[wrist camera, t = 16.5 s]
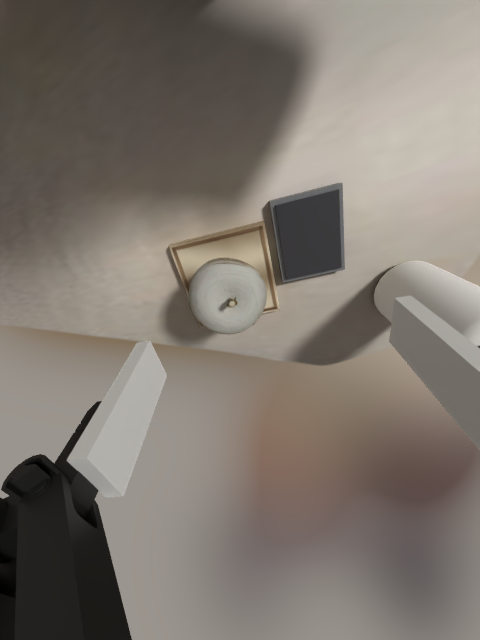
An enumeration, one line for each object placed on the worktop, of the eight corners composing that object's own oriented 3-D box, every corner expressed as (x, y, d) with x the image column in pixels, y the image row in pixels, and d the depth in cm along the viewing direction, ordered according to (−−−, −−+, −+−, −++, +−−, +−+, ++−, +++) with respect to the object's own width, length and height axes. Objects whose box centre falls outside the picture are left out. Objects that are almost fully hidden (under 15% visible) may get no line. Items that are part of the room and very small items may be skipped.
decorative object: (201, 310, 35) (188, 354, 27) (190, 248, 31) (171, 276, 22) (263, 306, 35) (271, 349, 26) (262, 243, 30) (270, 269, 22)
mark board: (170, 243, 32) (168, 246, 31) (263, 220, 30) (264, 222, 29) (199, 323, 37) (198, 326, 36) (278, 306, 36) (280, 310, 35)
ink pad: (269, 200, 29) (270, 202, 28) (338, 182, 28) (343, 183, 27) (281, 279, 34) (283, 283, 33) (341, 266, 33) (345, 270, 32)
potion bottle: (369, 319, 37) (464, 423, 21) (371, 266, 33) (488, 347, 17) (429, 307, 36) (573, 408, 20) (438, 251, 32) (627, 323, 16)
